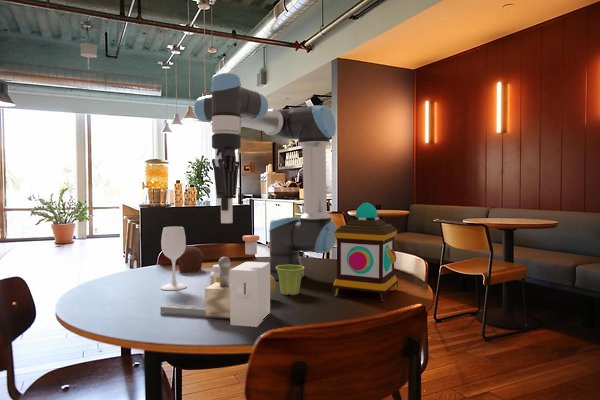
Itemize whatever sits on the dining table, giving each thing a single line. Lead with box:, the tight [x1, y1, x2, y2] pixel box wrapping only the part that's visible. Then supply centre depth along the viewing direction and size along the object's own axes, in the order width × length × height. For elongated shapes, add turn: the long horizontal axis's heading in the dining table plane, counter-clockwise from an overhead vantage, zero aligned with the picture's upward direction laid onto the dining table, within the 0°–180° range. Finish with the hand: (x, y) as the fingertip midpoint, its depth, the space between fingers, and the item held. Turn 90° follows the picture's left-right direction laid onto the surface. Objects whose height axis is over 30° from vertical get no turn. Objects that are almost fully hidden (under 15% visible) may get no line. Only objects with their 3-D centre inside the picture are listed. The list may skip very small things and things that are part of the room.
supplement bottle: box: [209, 263, 220, 286], centre depth 132 cm, size 5×5×10 cm
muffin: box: [177, 245, 205, 274], centre depth 172 cm, size 12×11×10 cm
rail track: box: [159, 303, 230, 320], centre depth 112 cm, size 22×3×2 cm, turn 78°
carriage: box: [204, 256, 231, 317], centre depth 110 cm, size 8×7×15 cm
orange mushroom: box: [242, 234, 260, 255], centre depth 108 cm, size 4×4×5 cm
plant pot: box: [276, 265, 305, 296], centre depth 135 cm, size 9×9×9 cm
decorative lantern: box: [332, 202, 399, 301], centre depth 136 cm, size 20×20×30 cm
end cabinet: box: [229, 261, 271, 328], centre depth 108 cm, size 7×13×14 cm, turn 168°
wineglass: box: [160, 226, 188, 291], centre depth 142 cm, size 9×9×21 cm
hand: (226, 222), depth 109 cm, fingers closed
